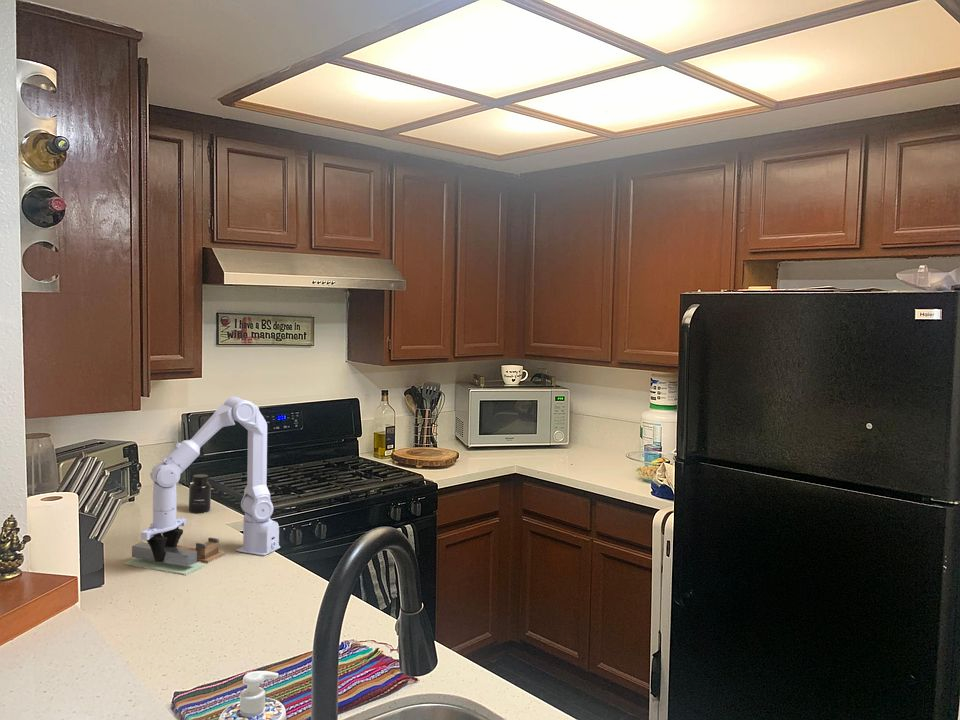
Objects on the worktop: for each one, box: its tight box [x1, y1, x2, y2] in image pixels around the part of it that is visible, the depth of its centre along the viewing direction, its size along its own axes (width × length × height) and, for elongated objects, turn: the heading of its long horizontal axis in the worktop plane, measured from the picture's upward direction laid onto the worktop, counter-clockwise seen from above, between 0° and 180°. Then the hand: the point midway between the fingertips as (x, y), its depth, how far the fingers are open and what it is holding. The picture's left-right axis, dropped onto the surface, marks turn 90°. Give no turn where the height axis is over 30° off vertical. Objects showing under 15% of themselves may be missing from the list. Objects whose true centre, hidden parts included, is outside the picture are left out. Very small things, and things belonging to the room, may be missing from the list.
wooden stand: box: [176, 537, 226, 564], centre depth 202 cm, size 20×7×5 cm, turn 72°
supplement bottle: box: [188, 473, 212, 514], centre depth 244 cm, size 7×7×12 cm
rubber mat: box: [123, 557, 205, 576], centre depth 193 cm, size 20×7×1 cm, turn 72°
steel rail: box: [131, 541, 198, 567], centre depth 193 cm, size 18×4×3 cm, turn 72°
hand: (164, 559), depth 193 cm, fingers closed on steel rail, 3 cm apart
